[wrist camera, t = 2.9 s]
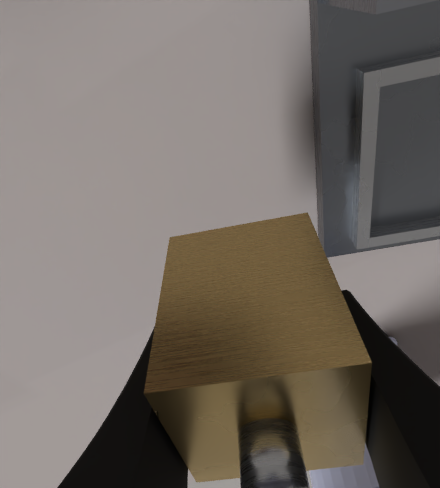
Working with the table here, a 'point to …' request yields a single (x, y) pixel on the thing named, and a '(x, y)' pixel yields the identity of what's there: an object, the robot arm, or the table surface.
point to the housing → (258, 356)
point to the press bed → (376, 122)
